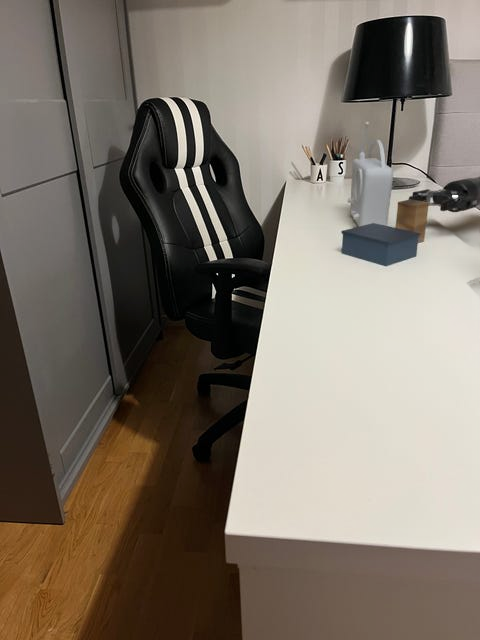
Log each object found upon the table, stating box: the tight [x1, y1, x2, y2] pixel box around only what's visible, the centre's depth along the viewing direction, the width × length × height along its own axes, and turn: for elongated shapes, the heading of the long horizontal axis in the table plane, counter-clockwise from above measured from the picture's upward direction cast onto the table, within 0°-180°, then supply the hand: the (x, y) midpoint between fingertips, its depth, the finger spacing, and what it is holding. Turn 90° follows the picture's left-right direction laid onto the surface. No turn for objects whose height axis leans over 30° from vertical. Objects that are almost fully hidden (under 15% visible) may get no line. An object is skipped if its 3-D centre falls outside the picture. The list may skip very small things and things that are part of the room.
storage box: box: [341, 223, 420, 267], centre depth 107 cm, size 12×10×5 cm
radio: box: [347, 121, 394, 227], centre depth 129 cm, size 22×8×25 cm, turn 177°
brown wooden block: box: [395, 198, 430, 244], centre depth 115 cm, size 5×5×9 cm
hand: (425, 203), depth 116 cm, fingers open, 8 cm apart
